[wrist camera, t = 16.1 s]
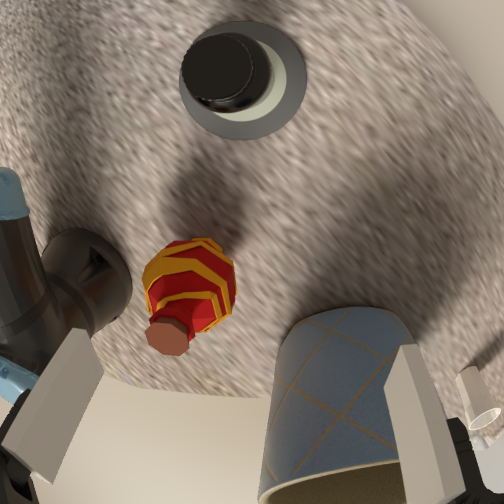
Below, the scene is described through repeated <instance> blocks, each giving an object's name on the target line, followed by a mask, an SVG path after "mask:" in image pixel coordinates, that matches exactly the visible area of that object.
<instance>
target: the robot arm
mask: <svg viewBox="0 0 504 504" xmlns="http://www.w3.org/2000/svg"><path fill="white" fill-rule="evenodd" d="M29 214H30V209H29V207H28V206H27V204H26V201H25V197H24V193H23V190H22V186H21V182H20V179H19V177H18V175H17V174H16V172H14V171H13V170H12V169H10V168H7V167H0V396H1V397H2V398H4V399H5V400H7V401H8V402H10V403H12V404H13V405H14V407H12V408H11V410H10V412H9V414H8V415H7V417H6V418H5V420H4V422H3V424H2V425H1V427H0V504H39V502H38V498H37V495H36V491H35V488H34V484H33V481H32V479H31V477H30V474H31V472H32V473H33V474H34V475H35V476H37V477H38V478H40V479H41V480H44V481H46V482H48V483H50V484H53V482H54V479H55V477H56V475H57V473H58V470H59V468H60V465H61V463H62V461H63V458H64V456H65V454H66V451H67V449H68V447H69V445H70V442H71V440H72V438H73V436H74V434H75V432H76V429H77V427H78V425H79V423H80V421H81V419H82V416H83V414H84V412H85V410H86V408H87V406H88V404H89V402H90V400H91V398H92V396H93V394H94V391H95V390H96V388H97V385H98V384H99V382H100V380H101V378H102V376H103V374H104V370H103V367H102V365H101V363H100V361H99V359H98V357H97V354H96V352H95V350H94V348H93V345H92V343H91V341H90V339H91V338H92V336H93V335H94V334H95V333H96V332H98V331H99V330H101V329H102V328H103V327H105V326H106V325H107V324H108V323H111V322H113V321H114V320H116V319H117V318H118V317H119V316H120V315H121V314H122V313H123V311H124V310H125V308H126V307H127V305H128V303H129V301H130V299H131V295H132V282H131V278H130V274H129V271H128V269H127V267H126V265H125V263H124V261H123V259H122V258H121V256H120V255H119V254H118V252H117V251H116V250H115V249H114V248H113V247H112V246H111V245H110V244H109V243H108V242H107V241H105V240H104V239H103V238H101V237H100V236H98V235H96V234H95V233H92V232H90V231H87V230H84V229H78V228H73V229H67V230H64V231H62V232H60V233H59V234H58V235H56V236H55V237H54V238H53V239H52V240H50V242H49V243H48V244H47V245H46V247H45V249H44V251H43V253H42V256H41V258H40V254H39V251H38V248H37V245H36V241H35V238H34V234H33V230H32V226H31V222H30V218H29ZM384 392H385V396H386V400H387V404H388V408H389V413H390V417H391V421H392V426H393V430H394V435H395V440H396V445H397V450H398V455H399V460H400V465H401V471H402V476H403V482H404V488H405V494H406V500H407V504H504V493H501V494H498V493H493V492H492V491H491V490H489V489H487V488H486V487H485V485H484V483H483V481H482V477H481V474H480V471H479V467H478V463H477V460H476V457H475V454H474V450H472V448H473V447H472V444H471V441H469V439H470V438H469V435H468V432H467V429H466V427H465V426H464V424H463V423H462V422H461V421H460V419H459V418H458V417H456V418H451V419H445V416H444V413H443V410H442V407H441V404H440V402H439V399H438V396H437V393H436V390H435V388H434V385H433V382H432V380H431V377H430V374H429V372H428V369H427V367H426V364H425V362H424V359H423V357H422V354H421V352H420V349H419V347H418V345H417V344H410V345H401V346H400V348H399V351H398V354H397V356H396V359H395V361H394V364H393V366H392V369H391V371H390V374H389V376H388V378H387V381H386V383H385V385H384Z"/></svg>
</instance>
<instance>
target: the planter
mask: <svg viewBox="0 0 504 504" xmlns="http://www.w3.org/2000/svg"><path fill="white" fill-rule="evenodd" d="M410 344H415V341H414V339H413V337H412V335H411V333H410V331H409V330H408V328H407V327H406V325H405V324H404V322H403V321H402V320H401V319H400V318H399V317H398V316H397V315H396V314H395V313H393V312H391V311H388V310H385V309H380V308H374V307H345V308H338V309H334V310H329V311H325V312H322V313H319V314H315V315H313V316H310V317H307V318H305V319H303V320H301V321H299V322H298V323H296V324H295V325H294V326H293V327H292V329H291V330H290V332H289V334H288V336H287V337H286V339H285V340H284V342H283V344H282V345H281V347H280V349H279V352H278V355H277V359H276V365H275V374H274V383H273V391H272V398H271V406H270V413H269V419H268V426H267V433H266V438H265V446H264V454H263V461H262V469H261V477H260V485H259V491H258V503H259V504H407V500H406V494H405V488H404V482H403V476H402V471H401V465H400V460H399V455H398V450H397V445H396V440H395V435H394V430H393V426H392V421H391V417H390V413H389V408H388V404H387V400H386V396H385V392H384V385H385V383H386V381H387V378H388V376H389V374H390V371H391V369H392V366H393V364H394V361H395V359H396V356H397V354H398V351H399V348H400V346H401V345H410ZM433 385H434V384H433ZM434 388H435V386H434ZM435 390H436V389H435ZM436 393H437V391H436ZM437 396H438V393H437ZM438 399H439V402H440V404H441V407H442V410H443V413H444V416H445V419H448V418H447V416H446V413H445V410H444V408H443V405H442V403H441V400H440V398H439V396H438Z"/></svg>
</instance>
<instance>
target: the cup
mask: <svg viewBox="0 0 504 504" xmlns="http://www.w3.org/2000/svg"><path fill="white" fill-rule="evenodd" d="M455 381H456V383H457V386H458V389H459V392H460V396H461V399H462V402H463V405H464V409H465V417H466V420H467V424H468V428H469V429H470V430H477V429H480V428H482V427H484V426H486V425H488V424H490V423H491V422H492V421H494V420H495V419H496V418H497V417H498V416H499V414H500V412H501V408H500V406H499V404H498V402H497V400H496V398H495V397H494V396H493V395H491V393H490V391H489V389H488V387H487V385H486V384H485V382H484V380H483V378H482V376H481V374H480V373H479V371H478V369H477V367H476V366H471V367H467V368H466V369H464V370H463V371H461V372H460V373H459V374H458V376H457V377H456V379H455Z"/></svg>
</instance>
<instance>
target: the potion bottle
mask: <svg viewBox="0 0 504 504" xmlns="http://www.w3.org/2000/svg"><path fill="white" fill-rule="evenodd" d="M142 282H143V286H144V290H145V297H146V303H147V309H148V312H149V313H151V314H152V315H153V316H152V317H151V318H150V319H149V321H150V325H151V326H150V327H149V328H148V329H147V330H146V331H145V334H146V337H147V340H148V343H149V345H150V346H152V347H153V348H155V349H156V350H158V351H159V352H160V353H162V354H164V355H173V356H180V355H182V354H183V353H184V352H186V351H187V350H188V349H189V341H191V340H192V339H193V338H194V337H195V333H201V332H207V331H209V330H210V329H212V328H213V327H214V326H216V325H217V324H218V323H220V322H221V321H222V320H224V319H225V318H226V317H228V316H229V315H230V314H232V308H233V306H234V303H235V296H236V295H237V288H236V280H235V272H234V265H233V261H232V260H231V259H229V258H228V257H226V256H225V255H223V249H222V248H221V247H220V246H219V245H218V244H216V243H215V242H214V241H213V240H212V239H211V238H193V239H192V240H191V241H173V242H172V243H170V244H169V245H167V246H166V247H165V248H164V249H162V250H161V251H160V252H159V253H158V254H157V255H156V256H155V257H154V258H153V259H152V260H151V261H150V262H149V263H148V264H147V265H146V267H145V270H144V273H143V276H142ZM148 295H149V296H148ZM149 299H150V300H149ZM150 303H151V304H150ZM151 306H152V308H151ZM211 325H212V326H211ZM210 326H211V327H210ZM209 327H210V328H209Z"/></svg>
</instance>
